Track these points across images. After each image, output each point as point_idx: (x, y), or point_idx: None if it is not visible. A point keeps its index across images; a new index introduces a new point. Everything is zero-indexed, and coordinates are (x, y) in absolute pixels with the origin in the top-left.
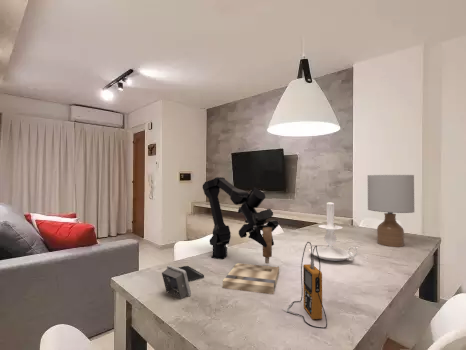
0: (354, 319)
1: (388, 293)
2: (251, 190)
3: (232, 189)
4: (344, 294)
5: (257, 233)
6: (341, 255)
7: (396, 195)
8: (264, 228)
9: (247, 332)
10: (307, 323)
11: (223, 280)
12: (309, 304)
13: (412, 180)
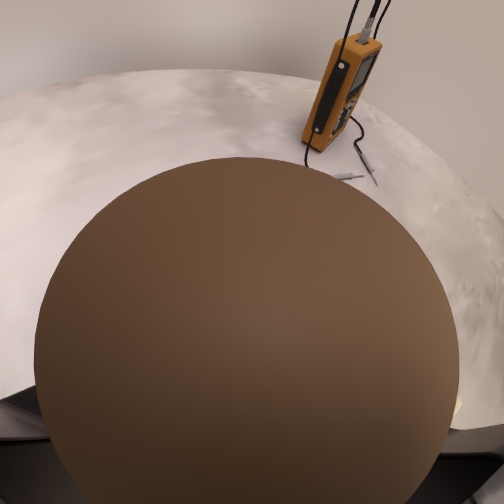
0: (269, 86)
1: (93, 81)
2: None
3: None
4: (158, 116)
5: (463, 435)
6: None
7: None
8: (451, 329)
9: (462, 198)
10: (363, 131)
11: (459, 404)
12: (344, 117)
13: None
